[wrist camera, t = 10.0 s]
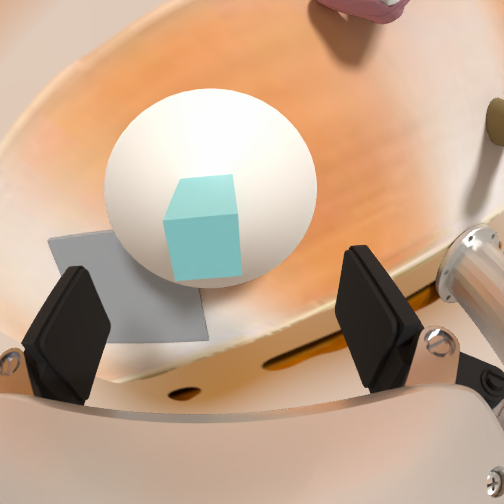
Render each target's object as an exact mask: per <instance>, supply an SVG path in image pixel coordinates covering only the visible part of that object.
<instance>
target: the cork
mask: <svg viewBox="0 0 504 504" xmlns="http://www.w3.org/2000/svg"><path fill="white" fill-rule="evenodd" d="M486 126H487V131H488V135H489V137H490V139H491V141H492V142H493V143H495V144H496V145H500V146H504V100H503V99H500V98H495V99H493V100H492V101H491V102H490V104H489V106H488V110H487V114H486Z"/></svg>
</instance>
